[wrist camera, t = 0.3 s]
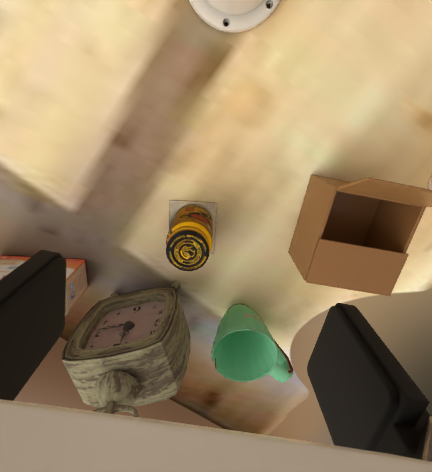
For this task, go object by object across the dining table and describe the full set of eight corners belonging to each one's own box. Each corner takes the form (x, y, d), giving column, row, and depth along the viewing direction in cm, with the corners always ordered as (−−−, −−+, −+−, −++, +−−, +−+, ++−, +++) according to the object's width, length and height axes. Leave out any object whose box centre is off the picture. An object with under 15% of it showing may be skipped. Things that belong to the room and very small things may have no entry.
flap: (337, 189, 35) (337, 187, 35) (430, 206, 36) (430, 204, 36) (367, 180, 29) (368, 177, 29) (479, 201, 30) (479, 198, 30)
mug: (201, 320, 54) (198, 362, 44) (234, 281, 51) (239, 317, 41) (263, 358, 57) (273, 405, 47) (298, 324, 54) (316, 366, 45)
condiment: (217, 202, 46) (218, 228, 35) (213, 253, 49) (213, 291, 38) (169, 199, 46) (155, 224, 34) (168, 250, 49) (155, 288, 37)
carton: (311, 174, 44) (337, 188, 35) (385, 188, 45) (431, 206, 36) (288, 252, 49) (305, 282, 39) (356, 263, 50) (390, 296, 40)
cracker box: (85, 256, 49) (0, 344, 29) (89, 288, 51) (11, 390, 32) (-1, 252, 49) (-146, 338, 29) (6, 284, 51) (-125, 385, 31)
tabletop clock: (184, 271, 50) (157, 402, 27) (197, 316, 53) (183, 467, 30) (102, 287, 51) (8, 427, 28) (119, 330, 54) (47, 487, 31)
